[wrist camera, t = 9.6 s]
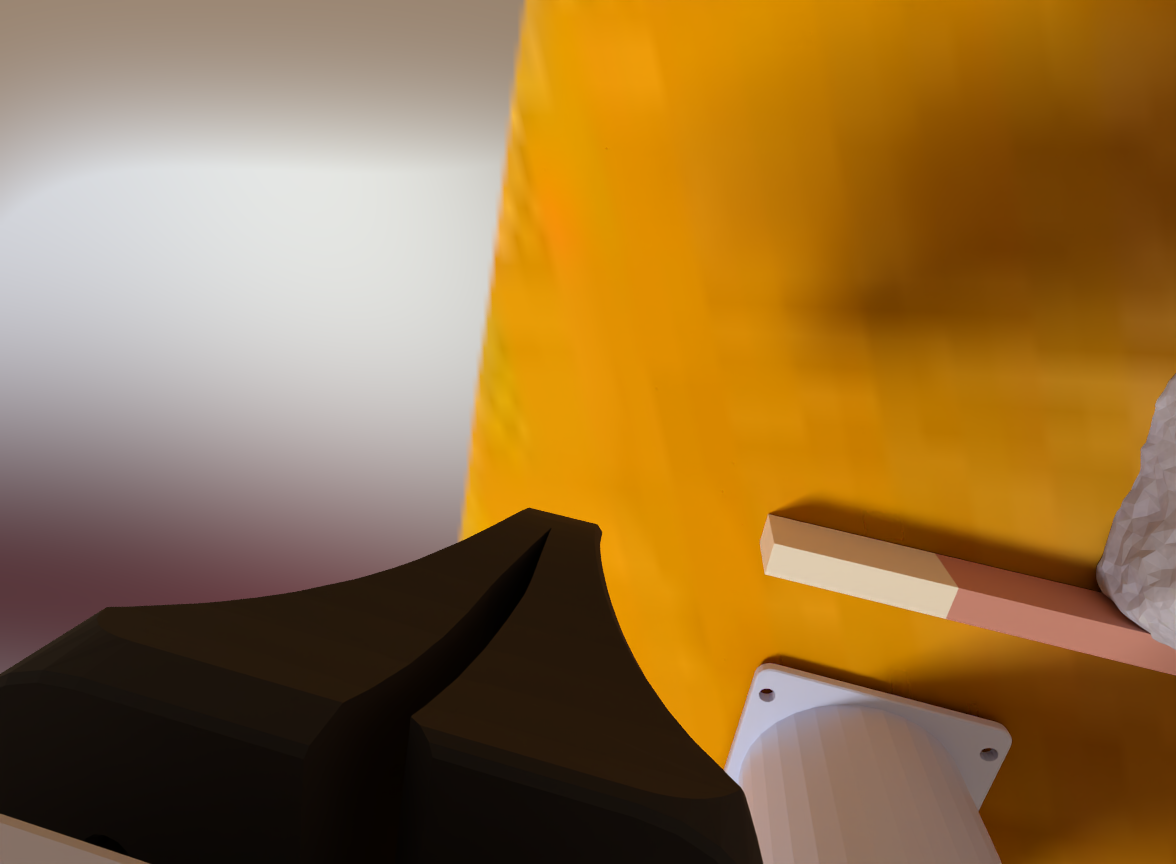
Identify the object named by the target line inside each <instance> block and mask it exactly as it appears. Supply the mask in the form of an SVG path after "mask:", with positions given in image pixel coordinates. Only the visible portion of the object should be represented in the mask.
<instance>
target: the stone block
mask: <svg viewBox="0 0 1176 864" xmlns="http://www.w3.org/2000/svg"><path fill="white" fill-rule="evenodd" d="M1155 407H1156V409H1155V413H1154V416H1153V418H1152V423H1151V428H1150V432H1149V435H1148V437H1147V442H1146V443H1145V444H1144V446H1143V447H1142V448H1141V470H1140V473H1139V475H1138V477H1137V479H1136V480H1135V482H1134V484H1133V487H1132V490H1131V491H1130V492H1129V494H1128V495H1127V496H1126V497H1125V499H1124V500H1123V502H1122V505H1121V508H1120V509H1119V510H1118V511H1117V513H1116V515H1115V517H1114V519H1113V524H1112V527H1111V530H1110V534H1109V537H1108V540H1107V543H1106V546H1105V549H1104V553H1103V556H1102V558H1101V560H1100V562H1099V563H1098V565H1097V568H1096V579H1097V582H1098V585H1099V587H1100V589H1101V591H1102V592H1103V593H1104V594H1105V595H1106V596H1107V597H1108V598H1109V599H1111V600H1112V601H1113V602H1114V603H1115V604H1116V605H1117V607H1118V608H1119V610H1120V611H1121V612H1122V613H1123V614H1124V615H1125V616H1126V617H1128V618H1129V619H1130V620H1132V621H1133V622H1135V623H1136V624H1138V625H1139V626H1140V627H1142V628H1143V629H1145V630H1146V631H1148V632H1149V633H1151V636H1152V638H1153V639H1154V640H1156V641H1158V642H1160V643H1162V644H1165V645H1168V646H1170V647H1172V648H1173V649H1175V650H1176V374H1175V375H1174V376H1173V377H1172V378H1171V379H1170V381H1169V382H1168V384H1167V386H1166V388H1165V390H1164V391H1163V393H1162V394H1161V395H1160V397H1159V398H1158V399H1157V402H1156V404H1155Z"/></svg>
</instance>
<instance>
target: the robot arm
mask: <svg viewBox="0 0 1176 864" xmlns="http://www.w3.org/2000/svg"><path fill="white" fill-rule="evenodd" d="M601 536H602V531H601V529H600V528H599V526H598V525H597V524H593V523H589V522H585V521H581V520H577V519H573V518H569V517H565V516H561V515H557V514H553V513H549V512H544V511H540V510H536V509H532V508H527V509H525V510H522V511H520V512H518V513H516V514H514V515H513V516H511V517H509V518H507V519H505V520H503V521H501V522H499V523H497V524H495V525H493V526H491V527H489V528H487V529H485V530H483V531H481V532H479V533H477V534H475V535H473V536H471V537H469V538H467V539H465V540H463V541H461V542H458V543H456V544H454V545H451V546H449V547H447V548H444V549H442V550H439V551H437V552H435V553H432V554H430V555H428V556H425V557H423V558H420V559H418V560H415V561H412V562H410V563H407V564H404V565H401V566H398V567H395V568H392V569H389V570H385V571H382V572H379V573H375V574H372V575H369V576H365V577H361V578H358V579H354V580H349V581H345V582H340V583H336V584H331V585H326V586H321V587H316V588H312V589H308V590H302V591H297V592H292V593H286V594H279V595H272V596H265V597H258V598H249V599H240V600H231V601H222V602H210V603H198V604H177V605H157V606H135V607H107V608H105V609H103V610H101V611H100V612H99V613H97V614H95V615H94V616H92V617H90V618H89V619H87V620H86V621H84V622H82V623H81V624H79V625H78V626H76V627H74V628H73V629H71V630H70V631H68V632H66V633H65V634H63V635H62V636H60V637H58V638H57V639H55V640H54V641H52V642H51V643H49V644H47V645H46V646H44V647H43V648H41V649H40V650H38V651H36V652H35V653H33V654H31V655H30V656H28V657H26V658H25V659H23V660H22V661H20V662H19V663H17V664H15V665H14V666H13V667H11V668H9V669H7V670H6V671H4V672H3V673H1V674H0V864H1002V862H1001V860H1000V858H999V856H998V853H997V851H996V849H995V847H994V845H993V842H992V840H991V838H990V836H989V834H988V832H987V829H986V827H985V825H984V823H983V821H982V818H981V816H980V814H979V812H978V811H979V809H980V807H981V805H982V803H983V801H984V799H985V797H986V795H987V793H988V791H989V789H990V787H991V785H992V783H993V781H994V779H995V777H996V775H997V773H998V771H999V769H1000V767H1001V765H1002V763H1003V761H1004V759H1005V757H1006V755H1007V753H1008V751H1009V749H1010V747H1011V744H1012V738H1011V735H1010V734H1009V732H1008V730H1007V729H1006V728H1005V727H1004V726H1003V725H1002V724H1000V723H998V722H995V721H991V720H987V719H984V718H980V717H976V716H972V715H968V714H965V713H961V712H957V711H953V710H949V709H945V708H942V707H938V706H934V705H930V704H926V703H923V702H919V701H915V700H911V699H907V698H904V697H900V696H896V695H892V694H888V693H884V692H881V691H877V690H873V689H869V688H865V687H862V686H858V685H854V684H850V683H846V682H842V681H839V680H835V679H831V678H827V677H823V676H820V675H816V674H812V673H808V672H804V671H801V670H797V669H793V668H789V667H785V666H781V665H778V664H773V663H766V664H762V665H761V666H759V667H758V668H757V670H756V671H755V674H754V677H753V680H752V683H751V686H750V690H749V693H748V696H747V699H746V702H745V705H744V708H743V712H742V715H741V718H740V721H739V724H738V727H737V730H736V734H735V737H734V740H733V743H732V746H731V749H730V752H729V756H728V759H727V762H726V765H725V768H724V770H723V769H722V768H721V767H720V766H719V765H718V764H717V763H716V762H715V761H714V760H713V759H712V758H711V757H710V756H709V755H708V754H707V753H706V752H705V751H704V750H703V749H702V748H701V747H700V746H699V745H697V744H696V743H695V741H694V740H693V739H692V738H691V737H690V736H689V735H688V734H687V732H686V731H685V730H684V729H683V728H682V726H681V725H680V724H679V723H678V722H677V720H676V719H675V718H674V717H673V716H672V714H671V713H670V712H669V711H668V710H667V708H666V707H665V705H664V704H663V702H662V701H661V700H660V698H659V697H658V695H657V694H656V692H655V691H654V689H653V688H652V686H651V685H650V684H649V682H648V681H647V679H646V677H645V676H644V674H643V672H642V670H641V669H640V667H639V665H638V663H637V661H636V660H635V658H634V656H633V654H632V652H631V650H630V648H629V646H628V644H627V642H626V640H625V637H624V635H623V633H622V630H621V628H620V625H619V623H618V620H617V618H616V615H615V612H614V609H613V606H612V603H611V600H610V597H609V593H608V590H607V586H606V581H605V577H604V573H603V568H602V562H601V554H600V541H601ZM765 688H767V689H771V690H773V692H771V693H769V694H764V693H762V692H760V691H761V690H762V689H765ZM985 748H992V749H991V750H990V751H987V752H981V751H982V750H983V749H985Z"/></svg>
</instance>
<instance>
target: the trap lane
mask: <svg viewBox="0 0 1176 864" xmlns="http://www.w3.org/2000/svg"><path fill="white" fill-rule="evenodd" d="M760 547H761V553H762V559H763V566H764V572H765V574H766V575H770V576H774V577H778V578H783V579H787V580H791V581H795V582H799V583H803V584H807V585H811V586H815V587H819V588H823V589H827V590H831V591H835V592H839V593H843V594H847V595H851V596H855V597H860V598H864V599H868V600H872V601H876V602H880V603H884V604H888V605H892V606H896V607H900V608H904V609H908V610H912V611H916V612H920V613H924V614H928V615H932V616H936V617H941V618H945V619H949V620H953V621H957V622H961V623H965V624H969V625H973V626H977V627H981V628H985V629H989V630H993V631H997V632H1001V633H1005V634H1009V635H1013V636H1018V637H1022V638H1026V639H1030V640H1034V641H1038V642H1042V643H1046V644H1050V645H1054V646H1058V647H1062V648H1066V649H1070V650H1074V651H1078V652H1082V653H1086V654H1090V655H1094V656H1099V657H1103V658H1107V659H1111V660H1115V661H1119V662H1123V663H1127V664H1131V665H1135V666H1139V667H1143V668H1147V669H1151V670H1155V671H1159V672H1163V673H1167V674H1171V675H1176V650H1175V649H1173V648H1172V647H1170V646H1168V645H1165V644H1162V643H1160V642H1158V641H1156V640H1154V639H1153V638H1152V636H1151V633H1149V632H1148V631H1146V630H1145V629H1143V628H1142V627H1140V626H1139V625H1138V624H1136V623H1135V622H1133V621H1132V620H1130V619H1129V618H1128V617H1126V616H1125V615H1124V614H1123V613H1122V612H1121V611H1120V610H1119V608H1118V607H1117V605H1116V604H1115V603H1114V602H1113V601H1112V600H1111V599H1109V598H1108V597H1107V596H1106V595H1105V594H1104V593H1101V592H1097V591H1092V590H1088V589H1084V588H1080V587H1075V586H1071V585H1067V584H1063V583H1058V582H1054V581H1050V580H1046V579H1041V578H1037V577H1033V576H1029V575H1025V574H1020V573H1016V572H1012V571H1008V570H1003V569H999V568H995V567H991V566H986V565H982V564H978V563H974V562H969V561H965V560H961V559H957V558H953V557H948V556H944V555H940V554H936V553H931V552H927V551H923V550H919V549H914V548H910V547H906V546H902V545H897V544H893V543H889V542H885V541H881V540H876V539H872V538H868V537H864V536H859V535H855V534H851V533H847V532H842V531H838V530H834V529H830V528H825V527H821V526H817V525H813V524H809V523H804V522H800V521H796V520H792V519H787V518H783V517H779V516H775V515H770V514H768V517H767V520H766V523H765V527H764V530H763V533H762V537H761V540H760Z"/></svg>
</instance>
